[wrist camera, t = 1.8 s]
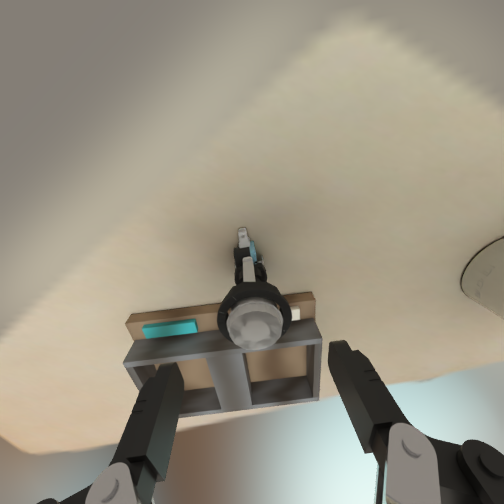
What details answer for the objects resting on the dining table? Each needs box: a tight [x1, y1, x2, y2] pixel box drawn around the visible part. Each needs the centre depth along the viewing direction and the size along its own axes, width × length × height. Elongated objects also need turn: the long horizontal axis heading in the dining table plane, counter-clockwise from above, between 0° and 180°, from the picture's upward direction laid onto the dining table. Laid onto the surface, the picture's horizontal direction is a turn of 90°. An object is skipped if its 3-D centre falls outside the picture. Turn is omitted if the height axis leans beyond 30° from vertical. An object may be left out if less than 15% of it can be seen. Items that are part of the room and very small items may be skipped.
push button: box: [217, 228, 292, 350], centre depth 18 cm, size 7×5×10 cm
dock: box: [123, 292, 322, 418], centre depth 26 cm, size 22×15×4 cm
